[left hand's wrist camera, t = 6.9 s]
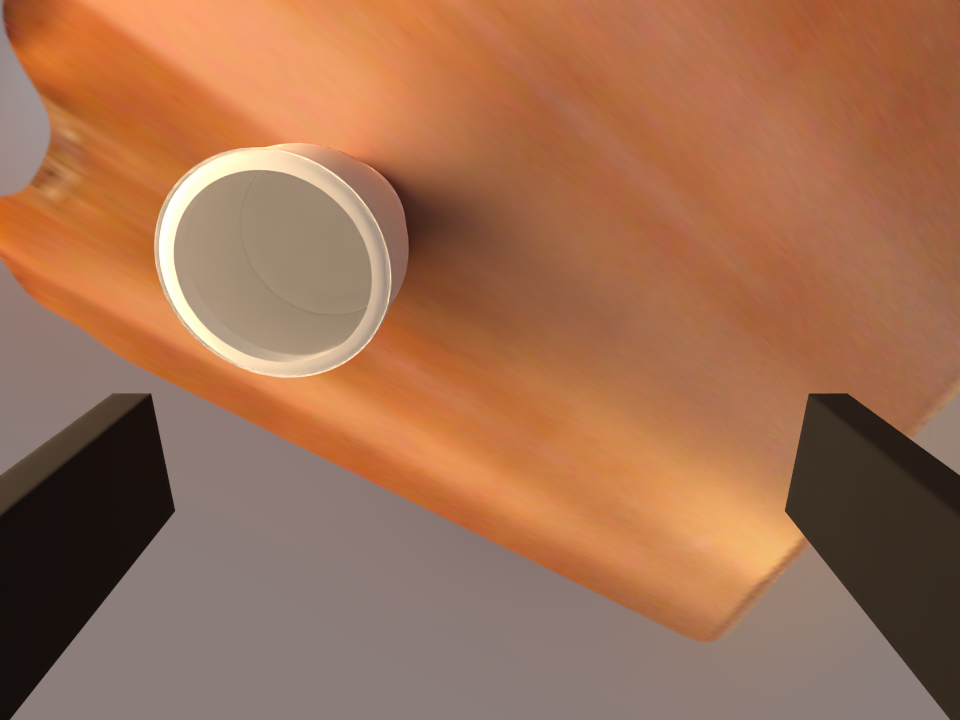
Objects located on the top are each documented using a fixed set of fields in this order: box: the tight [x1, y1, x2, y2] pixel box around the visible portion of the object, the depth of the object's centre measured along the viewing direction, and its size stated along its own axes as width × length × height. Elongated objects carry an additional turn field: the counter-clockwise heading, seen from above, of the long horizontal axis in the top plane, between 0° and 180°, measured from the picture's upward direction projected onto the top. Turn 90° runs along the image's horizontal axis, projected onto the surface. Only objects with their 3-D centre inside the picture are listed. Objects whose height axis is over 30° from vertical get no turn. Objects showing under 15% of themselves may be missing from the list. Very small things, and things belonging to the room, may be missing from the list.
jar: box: [154, 143, 409, 377], centre depth 34 cm, size 11×10×15 cm
